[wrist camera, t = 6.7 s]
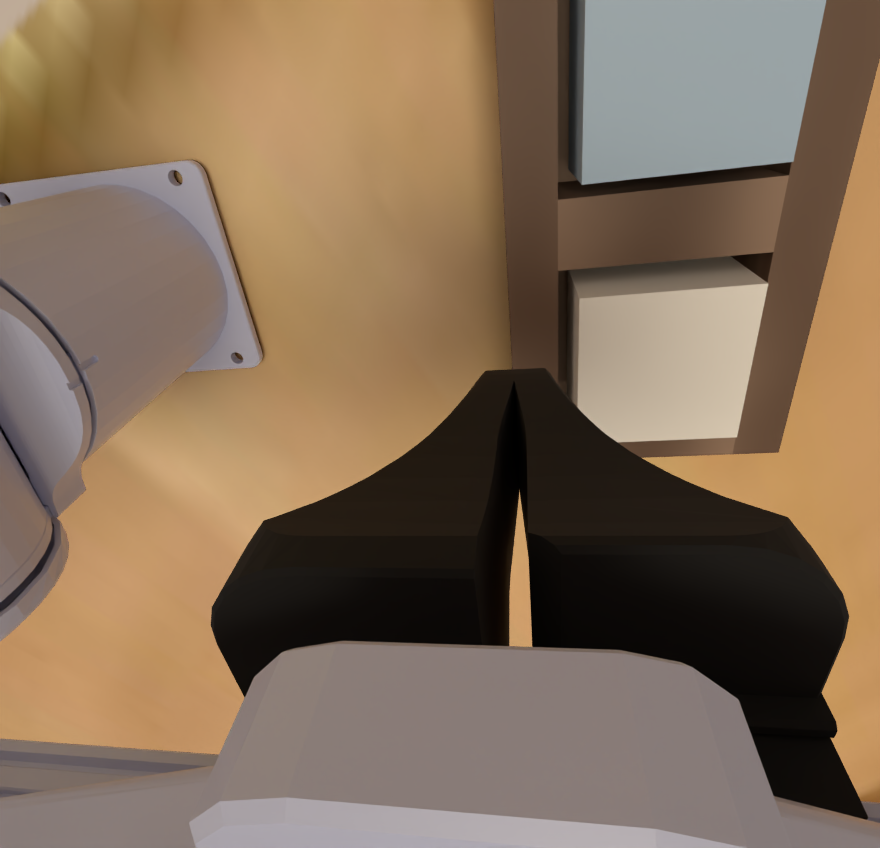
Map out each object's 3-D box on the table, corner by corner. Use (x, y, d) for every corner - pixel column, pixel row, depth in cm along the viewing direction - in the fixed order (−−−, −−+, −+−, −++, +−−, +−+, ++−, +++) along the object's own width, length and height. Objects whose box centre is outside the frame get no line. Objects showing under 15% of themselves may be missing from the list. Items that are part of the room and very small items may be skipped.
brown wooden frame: (514, 408, 23) (516, 462, 20) (489, -86, 15) (486, -137, 12) (735, 396, 22) (778, 452, 19) (841, -150, 14) (953, -229, 10)
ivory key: (566, 397, 20) (576, 443, 18) (567, 267, 18) (579, 298, 15) (704, 390, 20) (736, 437, 17) (726, 253, 17) (768, 283, 14)
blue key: (568, 169, 16) (581, 184, 14) (570, -43, 14) (587, -76, 11) (742, 149, 16) (793, 161, 13) (779, -79, 13) (851, -122, 10)
